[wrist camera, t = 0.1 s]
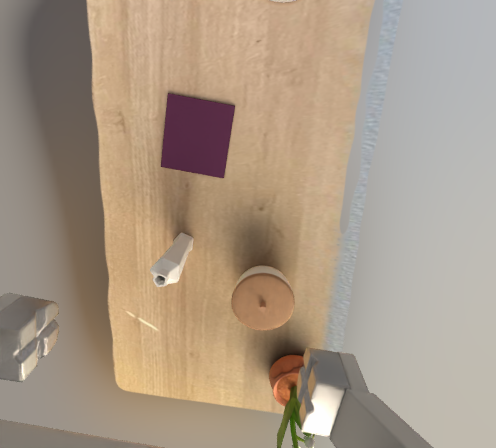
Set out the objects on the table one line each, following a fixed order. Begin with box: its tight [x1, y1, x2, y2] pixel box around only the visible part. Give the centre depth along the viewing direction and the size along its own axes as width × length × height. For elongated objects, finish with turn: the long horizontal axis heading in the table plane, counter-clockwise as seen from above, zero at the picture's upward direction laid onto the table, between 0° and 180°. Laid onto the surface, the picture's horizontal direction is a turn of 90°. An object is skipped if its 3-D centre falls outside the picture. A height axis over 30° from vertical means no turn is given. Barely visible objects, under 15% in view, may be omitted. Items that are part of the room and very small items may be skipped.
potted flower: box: [269, 355, 315, 448], centre depth 57 cm, size 12×10×25 cm
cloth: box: [161, 93, 235, 178], centre depth 55 cm, size 12×11×1 cm
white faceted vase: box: [150, 233, 193, 287], centre depth 54 cm, size 5×4×15 cm
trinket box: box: [232, 266, 295, 330], centre depth 59 cm, size 11×11×9 cm
